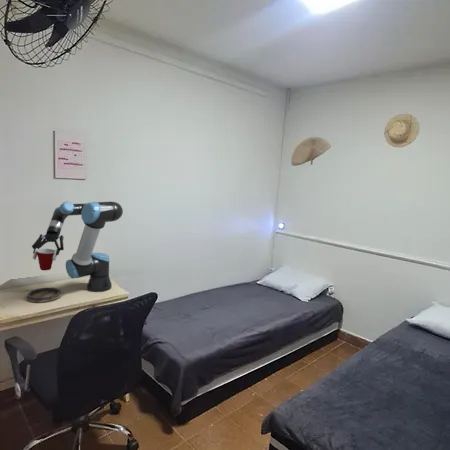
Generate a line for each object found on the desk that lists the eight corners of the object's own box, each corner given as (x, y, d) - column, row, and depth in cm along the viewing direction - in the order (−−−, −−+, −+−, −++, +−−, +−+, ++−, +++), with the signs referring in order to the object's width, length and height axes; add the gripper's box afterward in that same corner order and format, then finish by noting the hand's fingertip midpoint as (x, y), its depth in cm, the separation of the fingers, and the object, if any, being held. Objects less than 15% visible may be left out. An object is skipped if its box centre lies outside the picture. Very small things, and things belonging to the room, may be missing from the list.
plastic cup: (58, 270, 203) (58, 251, 201) (39, 272, 196) (39, 253, 194) (52, 265, 211) (52, 247, 209) (33, 267, 203) (33, 249, 201)
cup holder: (66, 291, 207) (66, 287, 207) (54, 303, 189) (54, 299, 189) (35, 290, 205) (35, 286, 205) (20, 302, 187) (20, 298, 187)
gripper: (75, 232, 215) (65, 262, 203) (38, 231, 214) (26, 261, 201) (71, 226, 209) (61, 256, 197) (33, 224, 207) (21, 255, 195)
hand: (43, 259), depth 199 cm, fingers closed on plastic cup, 11 cm apart
